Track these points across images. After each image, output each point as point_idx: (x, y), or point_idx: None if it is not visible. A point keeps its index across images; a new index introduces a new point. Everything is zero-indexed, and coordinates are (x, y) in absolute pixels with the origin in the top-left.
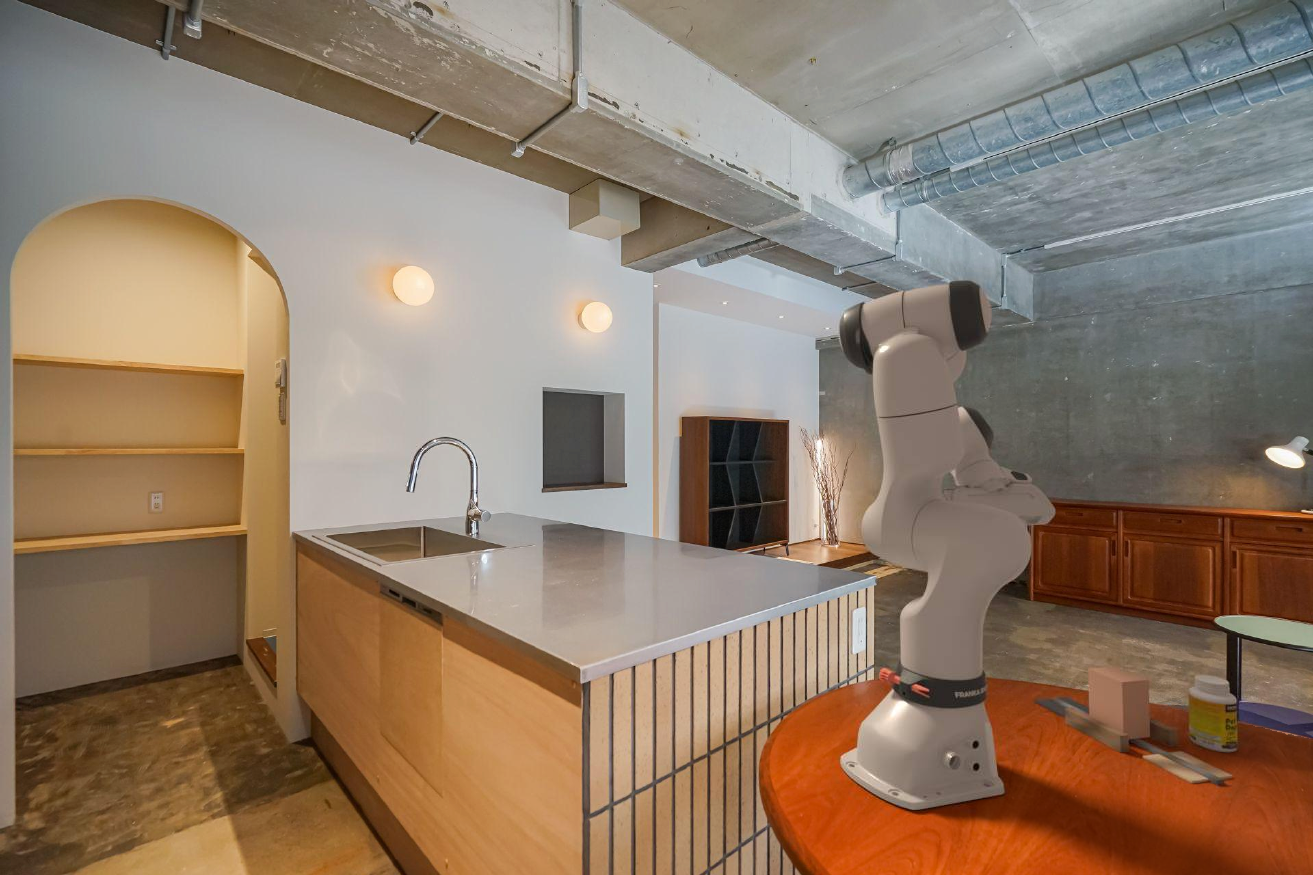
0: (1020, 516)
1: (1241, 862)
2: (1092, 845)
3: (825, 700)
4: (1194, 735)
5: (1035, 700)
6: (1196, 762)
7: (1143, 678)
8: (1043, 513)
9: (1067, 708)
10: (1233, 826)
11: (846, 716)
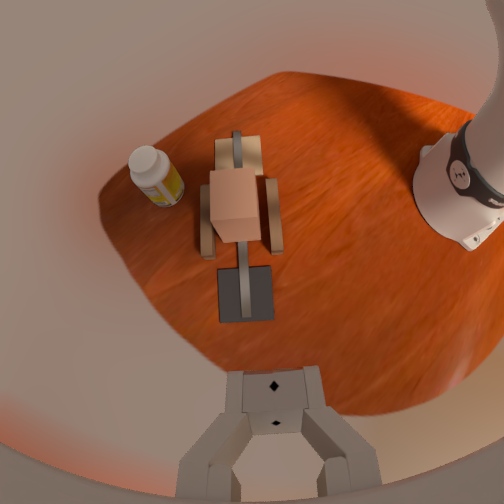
0: (206, 500)
1: (314, 75)
2: (391, 99)
3: (498, 338)
4: (182, 189)
5: (273, 318)
6: (222, 159)
7: (212, 175)
8: (33, 463)
9: (279, 249)
10: (284, 95)
11: (493, 297)
